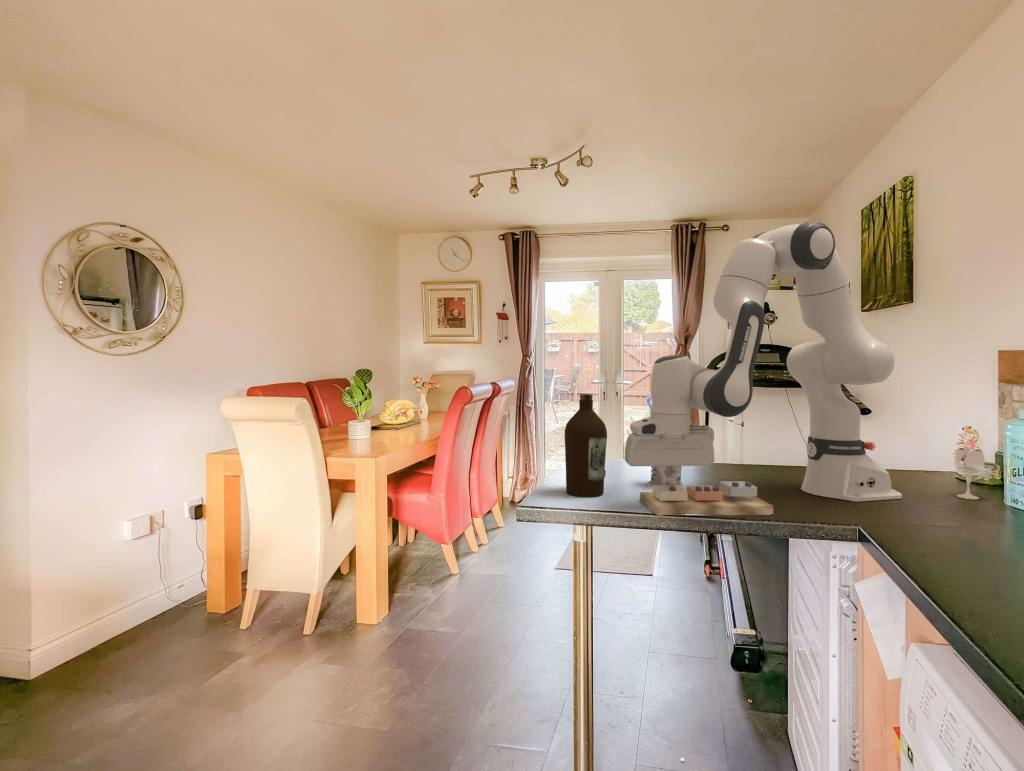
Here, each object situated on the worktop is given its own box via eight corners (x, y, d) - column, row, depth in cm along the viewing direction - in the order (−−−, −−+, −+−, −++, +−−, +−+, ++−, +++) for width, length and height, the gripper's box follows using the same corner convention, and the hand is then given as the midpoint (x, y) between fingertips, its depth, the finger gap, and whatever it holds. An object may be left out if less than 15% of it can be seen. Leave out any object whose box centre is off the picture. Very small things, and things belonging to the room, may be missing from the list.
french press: (642, 486, 148) (644, 393, 147) (653, 478, 158) (655, 390, 157) (680, 491, 143) (683, 394, 142) (689, 482, 154) (691, 392, 152)
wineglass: (983, 497, 140) (985, 449, 139) (981, 501, 136) (984, 452, 135) (954, 493, 144) (956, 447, 143) (952, 497, 140) (954, 449, 139)
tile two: (744, 489, 131) (744, 478, 131) (756, 496, 125) (757, 483, 125) (719, 489, 131) (719, 478, 131) (730, 496, 125) (731, 483, 125)
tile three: (711, 493, 131) (711, 482, 131) (722, 500, 125) (722, 488, 125) (686, 493, 131) (686, 482, 131) (696, 500, 125) (696, 488, 125)
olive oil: (555, 492, 141) (556, 394, 140) (581, 486, 148) (583, 392, 147) (588, 500, 133) (589, 396, 132) (614, 493, 141) (616, 394, 139)
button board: (745, 499, 135) (745, 491, 135) (773, 514, 122) (773, 505, 122) (639, 500, 134) (640, 492, 134) (656, 515, 121) (656, 506, 121)
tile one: (677, 493, 131) (678, 482, 130) (687, 500, 125) (687, 488, 125) (652, 494, 130) (653, 482, 130) (660, 500, 124) (661, 488, 124)
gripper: (708, 423, 132) (707, 481, 132) (623, 423, 131) (622, 482, 131) (719, 426, 125) (718, 487, 126) (630, 427, 124) (629, 488, 125)
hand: (668, 484), depth 129 cm, fingers closed
